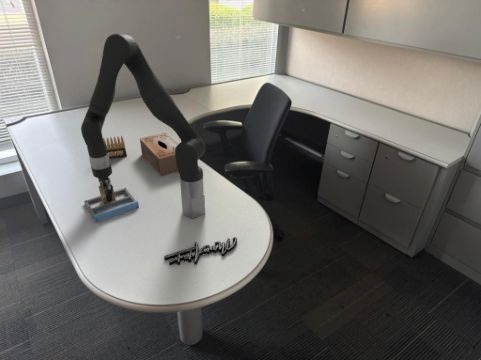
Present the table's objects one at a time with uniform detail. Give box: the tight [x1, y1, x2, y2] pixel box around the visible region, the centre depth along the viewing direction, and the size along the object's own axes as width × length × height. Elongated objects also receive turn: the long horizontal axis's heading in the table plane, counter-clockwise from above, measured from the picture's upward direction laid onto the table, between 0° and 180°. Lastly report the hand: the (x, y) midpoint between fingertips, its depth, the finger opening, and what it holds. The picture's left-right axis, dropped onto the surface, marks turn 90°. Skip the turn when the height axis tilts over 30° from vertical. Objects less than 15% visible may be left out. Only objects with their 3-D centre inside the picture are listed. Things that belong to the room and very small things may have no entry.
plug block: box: [98, 183, 117, 205], centre depth 145 cm, size 3×5×8 cm, turn 126°
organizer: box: [84, 187, 140, 223], centre depth 144 cm, size 15×18×3 cm
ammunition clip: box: [103, 135, 128, 160], centre depth 176 cm, size 11×2×12 cm, turn 111°
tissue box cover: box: [139, 132, 179, 177], centre depth 175 cm, size 26×14×10 cm, turn 34°
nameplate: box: [163, 237, 238, 266], centre depth 123 cm, size 27×2×10 cm
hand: (108, 198), depth 146 cm, fingers closed on plug block, 3 cm apart
